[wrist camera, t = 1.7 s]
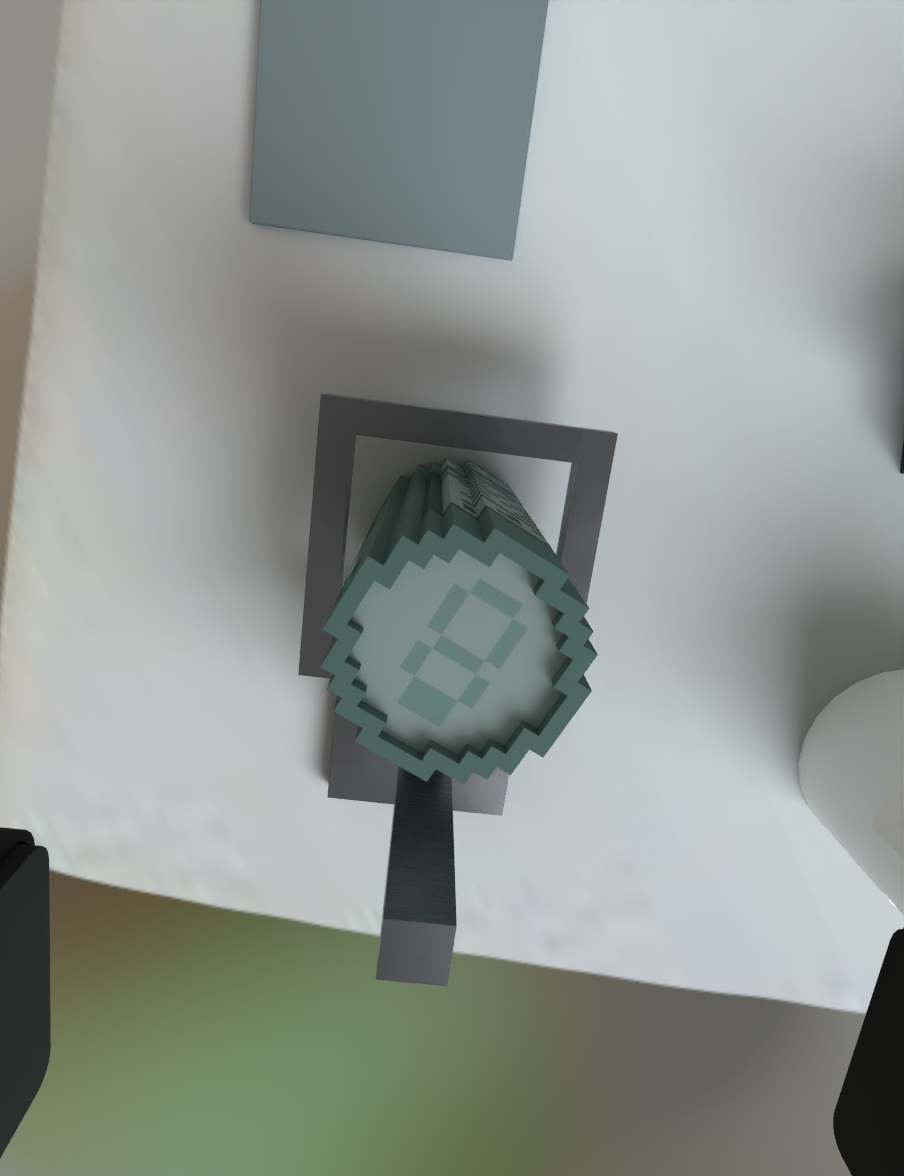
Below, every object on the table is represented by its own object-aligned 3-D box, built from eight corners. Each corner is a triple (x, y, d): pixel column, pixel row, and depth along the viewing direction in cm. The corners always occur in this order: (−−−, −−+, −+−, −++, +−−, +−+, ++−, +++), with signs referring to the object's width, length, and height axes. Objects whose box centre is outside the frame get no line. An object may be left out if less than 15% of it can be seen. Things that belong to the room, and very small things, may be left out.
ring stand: (338, 392, 30) (256, 399, 17) (591, 426, 31) (712, 459, 17) (304, 783, 35) (219, 1038, 21) (525, 806, 35) (579, 1069, 22)
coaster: (268, -91, 26) (266, -98, 25) (553, -44, 26) (555, -50, 26) (252, 223, 28) (249, 221, 28) (511, 260, 29) (512, 259, 28)
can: (351, 556, 32) (279, 699, 17) (426, 433, 31) (416, 478, 16) (471, 627, 33) (497, 820, 18) (549, 512, 31) (642, 621, 17)
